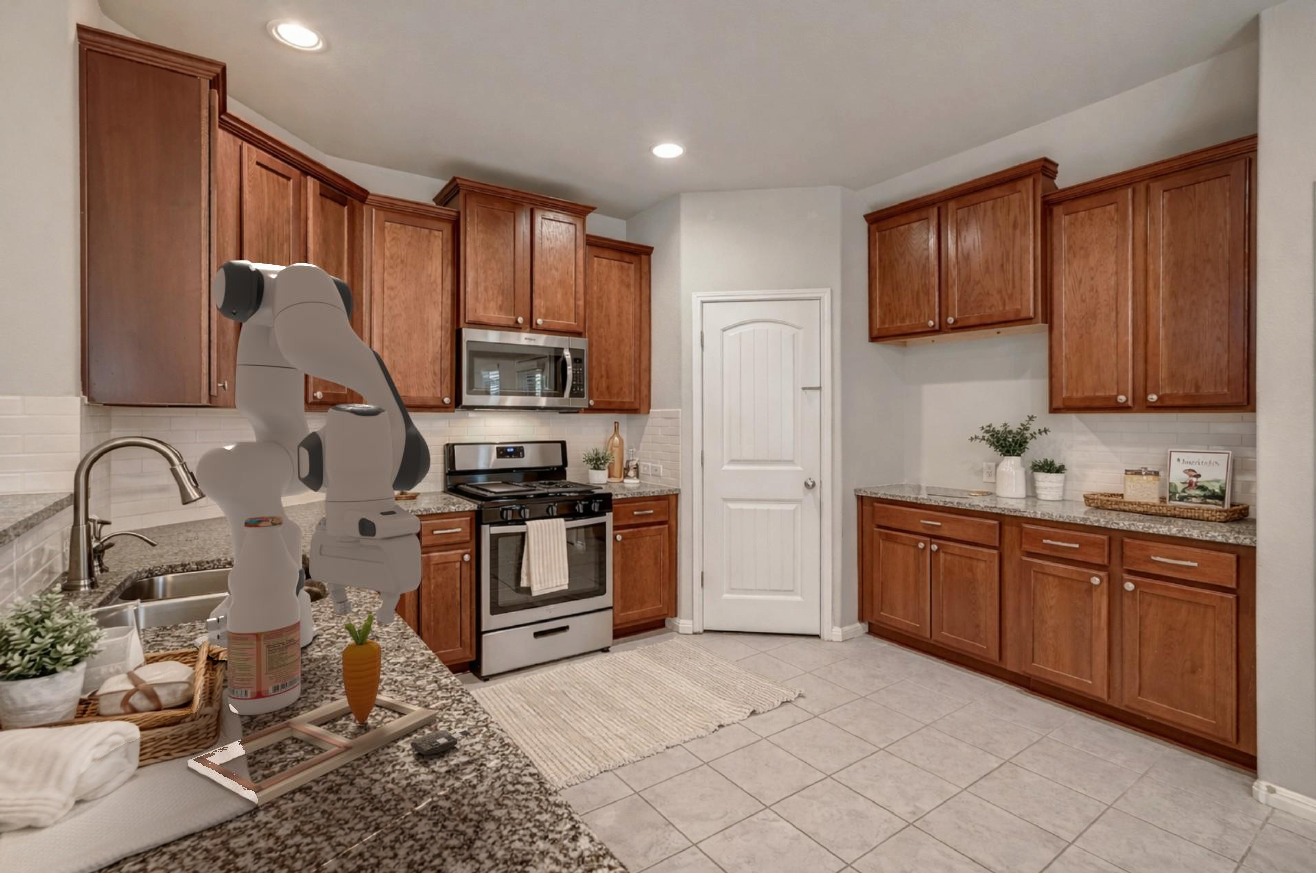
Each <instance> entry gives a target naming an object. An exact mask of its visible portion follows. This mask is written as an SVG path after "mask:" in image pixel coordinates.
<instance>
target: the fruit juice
mask: <svg viewBox="0 0 1316 873" xmlns="http://www.w3.org/2000/svg"><path fill="white" fill-rule="evenodd" d="M282 524H283V520H282V517H279V516H266V517H254V518H248V519H246V520H245V523H244V526H245V530H246V531H247V536H246V539H245V541H244V544H243V547H242V549H241V552H240V554H239V557H238V559H237V561H236V563H235V565H234V564H233V566H232V568H230V571H229V573H228V577H227V586H228V590H230V593H231V596H232V603H231V605H230V607H229V610H228V617H227V660H226V661H227V704H228V703H229V704H231V705H232V706H233V707H234V708H235V709H236V710H237V711H238V713H239V715H240V716H254V715H255V716H256V715H263V714H268V713H271V712H274V711H275V712H276V711H278V710H282V709H284V708H286V707H289V706H290V705H293V704H294V703H295V702H296V701H298V699H300V695H301V693H302V692H301V691H302V690H301V688H302V675H301V674H302V673H301V672H302V670H301V669H302V667H301V666H302V665H301V664H302V661H301V660H302V659H301V658H302V657H301V655H302V653H301V652H302V650H301V648H302V647H301V639H300V604H299V600H298V598H297V596H296V586H297V583H298V579H299V570H298V566H297V564H296V563H295V561H294V560H293V559H292V557H291V556H290V554H289V552H288V549H287V547H286V545H285V542H284V539H283V537H282V535H281V531H280V530H281V528H282Z"/></svg>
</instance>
